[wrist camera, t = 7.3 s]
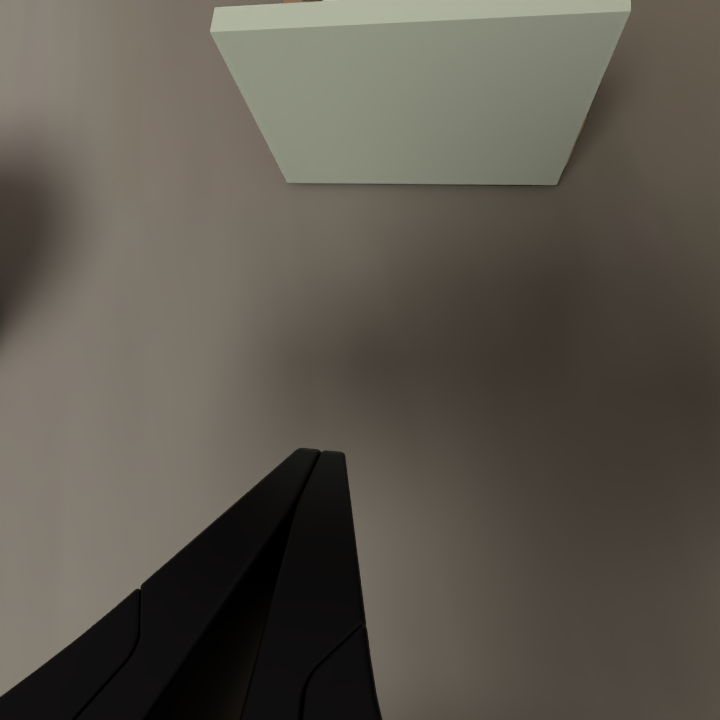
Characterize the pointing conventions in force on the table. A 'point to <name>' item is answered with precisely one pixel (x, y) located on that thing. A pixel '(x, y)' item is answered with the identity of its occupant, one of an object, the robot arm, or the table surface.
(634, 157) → the table surface
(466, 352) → the table surface
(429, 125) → the drawer
